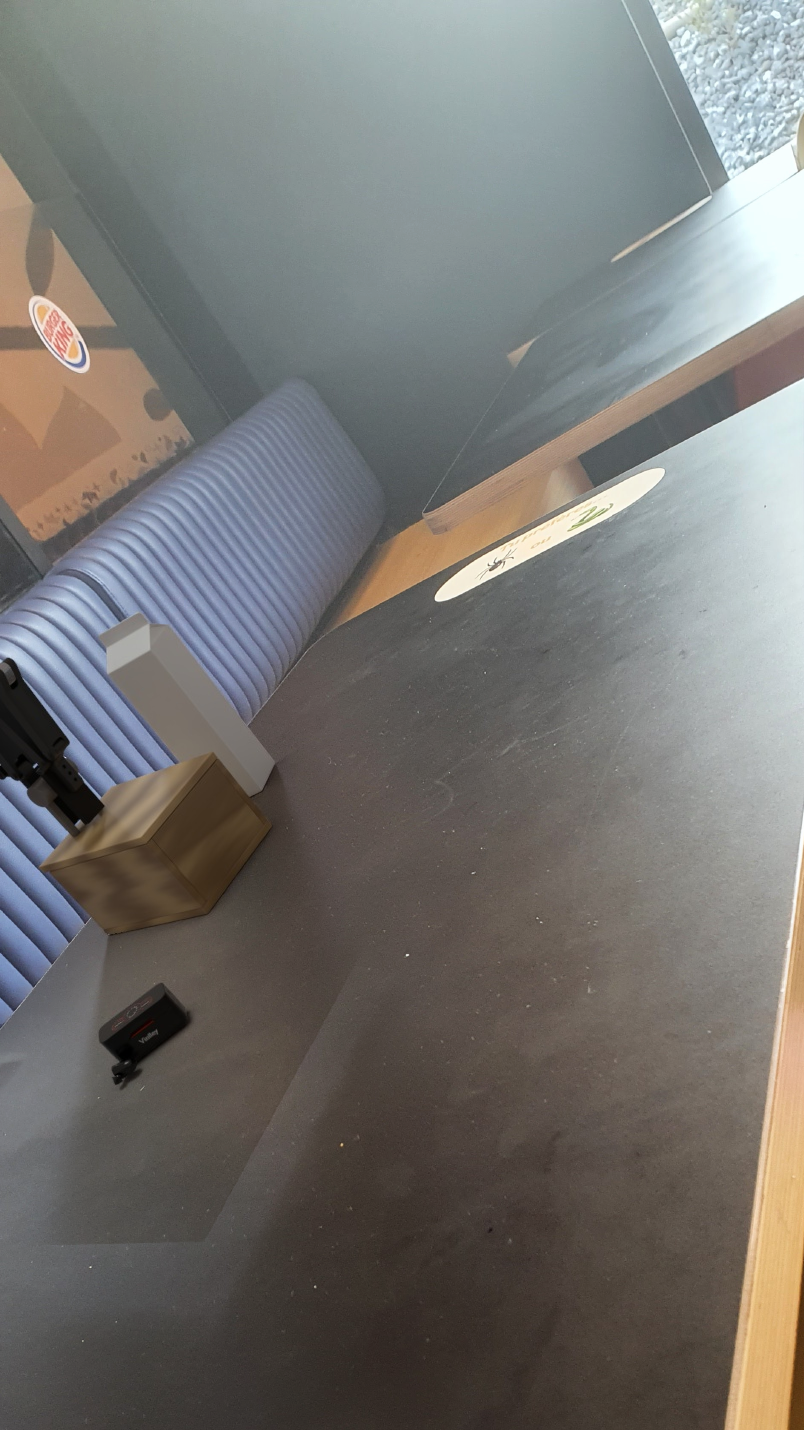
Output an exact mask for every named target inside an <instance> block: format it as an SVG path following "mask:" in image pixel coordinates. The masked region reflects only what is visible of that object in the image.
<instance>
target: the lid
mask: <svg viewBox="0 0 804 1430" xmlns="http://www.w3.org/2000/svg"><path fill="white" fill-rule="evenodd" d="M64 758H65V759H66V760H67V761H68V762H69V764H70V765H71V766H72V767H73V768H74V769H75V770H76V771H77V773H78V774H79V768H78V766H77V764H76V763H75V762H74V761H73V760H72V759H70V758H68V757H65V756H64ZM217 758H218V757H217V756H216V755H215V753H214V752H210V753H207V754H204V755H201V756H199V757H196V758H193V759H190V760H187V761H184V762H181V763H180V762H177V763H175V764H173V765H169V766H167V767H165V768H161V769H158V770H156V771H152V772H149V773H147V774H144V775H141V776H139V777H135V778H133V779H129V780H127V781H124V782H121V783H118V784H115V785H112V786H110V788H108V789H107V790H106V792H105V793H104V794H103V795H102V796H101V797H100V798H99V800H100V801H101V802H102V803H103V804H104V805H105V807H104V808H103V809H102V810H101V811H100V812H99V813H98V814H97V815H96V817H95V818H94V819H93V820H92V821H91V822H90V823H89V824H86V825H84V823H83V822H82V821H81V820H79V821H78V822H77V823H76V824H75V825H74V824H73V823H72V822H71V821H70V820H69V818H68V817H67V816H66V815H65V814H64V813H63V812H62V811H61V810H60V809H59V807H58V806H57V805H56V804H55V803H54V802H53V800H54V799H55V798H56V797H57V796H58V795H57V794H56V792H55V791H54V790H53V789H52V788H51V787H50V786H49V785H48V784H47V782H46V781H45V780H44V779H43V778H42V777H41V776H40V777H39V778H38V779H37V780H36V781H35V782H34V783H33V784H32V785H31V786H30V787H29V788H28V789H26V796H27V797H28V799H29V800H30V801H31V802H32V803H33V804H34V805H35V806H38V807H39V808H45V807H46V808H47V809H46V808H45V809H46V810H47V812H48V813H50V815H51V816H52V817H53V816H54V817H55V818H56V819H57V820H58V821H57V820H56V819H55V818H54V817H53V818H54V819H55V820H56V821H57V822H58V824H60V826H61V827H62V828H63V829H64V828H65V829H66V830H67V831H66V830H65V829H64V830H65V831H66V832H67V833H68V834H67V835H66V836H65V837H64V838H63V840H61V842H60V843H59V844H58V845H57V846H56V847H55V848H54V850H52V851H51V853H49V855H48V856H47V857H46V858H45V859H44V860H43V862H42V863H41V864H39V866H38V869H39V870H40V871H41V872H42V873H43V874H45V873H49V872H50V871H53V870H56V869H60V868H63V867H67V866H70V865H74V864H77V863H81V862H84V861H88V860H91V859H95V858H98V857H101V856H105V855H108V854H112V853H115V852H119V851H122V850H126V849H129V848H133V847H136V846H140V845H143V844H146V843H147V842H148V841H149V840H150V839H151V837H152V836H153V835H154V834H155V833H156V831H157V830H158V829H159V828H160V827H161V825H162V824H163V823H164V822H165V821H166V819H167V818H168V817H169V816H170V814H171V813H172V812H173V811H174V810H175V808H176V807H177V806H178V805H179V804H180V802H181V801H182V800H183V799H184V798H185V796H186V795H187V794H188V793H189V792H190V790H191V789H192V788H193V787H194V786H195V784H196V783H197V782H198V781H199V780H200V778H201V777H202V776H203V775H204V774H205V772H206V771H207V770H208V769H209V768H210V766H211V765H212V764H213V763H214V762H215V760H216V759H217Z"/></svg>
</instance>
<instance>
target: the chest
mask: <svg viewBox="0 0 804 1430" xmlns="http://www.w3.org/2000/svg"><path fill="white" fill-rule="evenodd" d="M272 827H273V825H272V823H271V822H270V821H269V820H268V818H267V817H266V816H265V814H264V813H263V812H262V811H261V809H260V808H259V807H258V806H257V805H256V804H255V802H254V801H253V800H252V798H251V797H249V796H248V795H247V793H246V792H245V791H244V790H243V788H242V787H241V786H240V785H239V783H238V782H237V781H236V780H235V778H234V777H233V776H232V775H231V773H230V772H229V771H228V770H227V768H226V767H225V766H224V765H223V763H222V762H221V761H220V760H219V759H216V760H215V762H214V763H213V764H212V765H211V766H210V768H209V769H208V770H207V771H206V772H205V774H204V775H203V776H202V777H201V778H200V780H199V781H198V782H197V783H196V784H195V786H194V787H193V788H192V789H191V790H190V792H189V793H188V794H187V795H186V796H185V798H184V799H183V800H182V801H181V802H180V804H179V805H178V806H177V807H176V808H175V810H174V811H173V812H172V813H171V814H170V816H169V817H168V818H167V819H166V821H165V822H164V823H163V824H162V825H161V827H160V828H159V829H158V830H157V831H156V833H155V834H154V835H153V836H152V837H151V839H150V840H149V841H148V842H147V843H146V844H143V845H140V846H136V847H133V848H129V849H126V850H122V851H119V852H115V853H112V854H108V855H105V856H101V857H98V858H95V859H91V860H88V861H84V862H81V863H77V864H74V865H70V866H67V867H63V868H60V869H56V870H53V871H50V872H48V873H49V874H50V876H52V878H53V879H54V880H55V881H56V882H57V883H58V884H59V885H60V886H61V887H62V888H63V890H64V891H66V892H67V893H68V894H69V896H70V897H71V898H72V899H73V900H74V901H75V902H76V903H77V904H78V905H79V906H80V907H81V909H83V911H84V912H85V913H86V914H87V915H88V916H89V917H90V918H91V919H92V921H94V922H95V923H96V924H97V925H98V927H100V929H102V930H103V932H104V933H105V934H106V935H107V936H109V935H108V934H113V935H116V934H115V933H117V934H121V932H122V933H126V932H131V931H135V930H139V929H144V928H148V927H149V928H150V927H154V926H158V925H163V924H168V923H171V922H177V921H181V920H185V919H190V918H194V917H199V916H203V915H208V914H209V913H210V912H211V910H212V909H213V908H214V906H215V905H216V903H217V902H218V901H219V900H220V898H221V897H222V895H223V894H224V892H225V891H226V889H227V888H228V887H229V886H230V884H231V883H232V881H234V879H235V878H236V876H237V875H238V874H239V872H240V871H241V869H242V868H243V866H244V865H245V864H246V862H248V860H249V859H250V857H251V856H252V855H253V853H254V852H255V850H256V849H257V848H258V846H259V845H260V844H261V843H262V841H263V840H264V838H265V837H266V835H267V834H268V833H269V831H270V830H271V828H272Z"/></svg>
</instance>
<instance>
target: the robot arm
mask: <svg viewBox="0 0 804 1430" xmlns="http://www.w3.org/2000/svg"><path fill="white" fill-rule="evenodd" d="M70 741H71V740H70V739H69V738H68V737H67V735H66V734H65V733H64V731H63V729H62V728H61V727H60V726H59V724H58V723H57V722H56V721H55V719H54V717H52V715H51V714H50V713H49V711H48V709H46V707H45V706H44V705H43V704H42V702H41V700H40V699H39V698H38V697H37V696H36V694H35V693H34V692H33V690H32V688H31V687H30V686H29V684H28V683H27V682H26V681H25V679H24V677H23V676H22V673H21V671H20V669H19V666H18V663H16V661H15V660H14V659H13V658H11V657H5V658H4V659H3V660H2V661H1V662H0V780H1V781H4V780H6V779H7V778H11V779H12V780H13V781H15V782H20V783H21V784H22V785H23V786H24V787H25V788H26V790H28V788H29V787H30V786H31V785H32V784H33V783H34V782H35V781H36V780H37V779H38V778H39V777H40V776H41V777H42V778H43V779H44V780H45V781H46V782H47V784H48V785H49V786H50V787H51V788H52V789H53V790H54V791H55V792H56V794H57V795H58V796H57V797H56V798H55V799H54V800H53V802H54V803H55V804H56V805H57V806H58V807H59V809H60V810H61V811H62V812H63V813H64V814H65V815H66V816H67V817H68V818H69V820H70V821H71V822H72V823H73V824H74V825H75V826H76V825H77V824H78V823H79V822H80V821H82V822H83V823H84V825H86V824H89V823H90V822H91V821H92V820H93V819H94V818H95V817H96V815H97V814H98V813H99V812H100V811H101V810H102V809H103V808H104V807H105V805H104V804H103V803H102V802H101V801H100V798H99V797H98V796H97V795H96V794H95V792H93V790H92V789H91V788H90V787H89V786H88V785H87V784H86V782H85V781H84V778H83V777H82V775H80V774H79V772H78V773H77V771H76V770H75V769H74V768H73V767H72V766H71V765H70V764H69V762H68V761H67V760H66V759H65V758H64V757H65V756H64V753H65V751H66V749H67V748H68V746H69V745H71V742H70ZM35 765H36V766H35ZM34 766H35V767H34ZM44 808H45V809H46V810H47V808H46V807H44ZM52 817H53V818H54V819H55V820H56V821H57V822H58V820H57V819H56V818H55V817H54V816H53V815H52ZM63 829H64V830H65V831H66V832H68V831H67V830H66V829H65V828H64V827H63Z"/></svg>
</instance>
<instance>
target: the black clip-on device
mask: <svg viewBox="0 0 804 1430" xmlns="http://www.w3.org/2000/svg"><path fill="white" fill-rule="evenodd" d="M188 1019H189V1017H188V1014H187V1010H186V1007H185V1005H184V1004H183V1002H182V1001H181V1000H179V998H178V997H176V995H175V994H174V993H173V992H172V991H171V990H170V988H168V987H167V985H166V984H164V982H159V983H157V984H156V985H153V987H151V988H150V989H149V990H147V992H145V993H144V994H142V995H141V996H140V997H138V998H137V999H135V1000H134V1001H133V1002H131V1004H129V1005H127V1006H126V1007H125V1008H124V1009H122V1010H121V1011H120V1012H119V1013H117V1014H116V1015H115V1016H113V1017H112V1018H110V1019H109V1020H108V1021H107V1022H105V1023H104V1024H102V1026H101V1027H100V1028H99V1030H98V1032H97V1033H98V1042H99V1044H100V1045H101V1046H102V1047H103V1048H104V1049H105V1050H106V1051H107V1052H108V1053H110V1054H111V1055H112V1056H113V1057H114V1058H115V1060H117V1063H115V1064H113V1065H112V1066H111V1073H112V1074H113V1076H112V1077H111V1079H112V1082H113V1084H114V1086H118V1085H120V1084H121V1083H123V1081H124V1079H126V1078H127V1077H129V1076H130V1075H131V1074H132V1073H135V1071H136V1069H137V1067H138V1061H139V1060H140V1059H141V1058H143V1057H144V1056H146V1055H147V1054H148V1053H149V1052H151V1051H152V1050H153V1049H155V1048H156V1047H157V1046H159V1045H160V1044H161V1043H162V1042H164V1041H165V1040H167V1039H168V1038H169V1037H170V1036H172V1035H173V1034H174V1033H176V1032H178V1031H179V1030H180V1029H181V1028H182V1027H184V1026H185V1025H186V1024H187V1023H188Z"/></svg>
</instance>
